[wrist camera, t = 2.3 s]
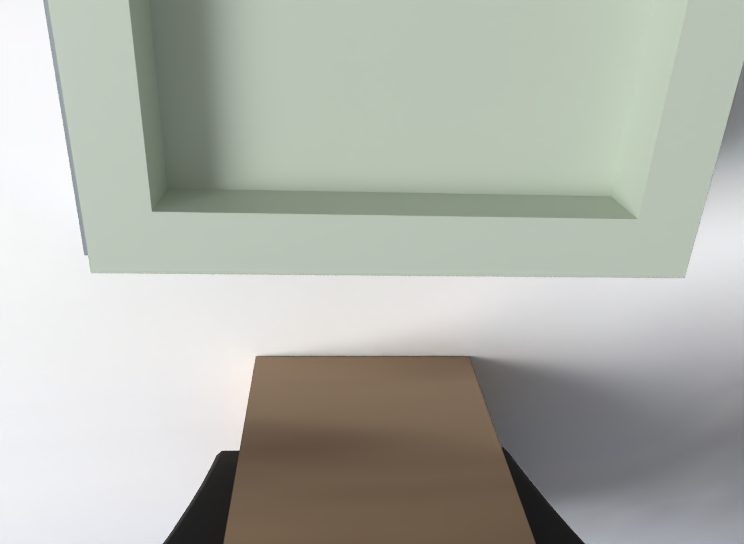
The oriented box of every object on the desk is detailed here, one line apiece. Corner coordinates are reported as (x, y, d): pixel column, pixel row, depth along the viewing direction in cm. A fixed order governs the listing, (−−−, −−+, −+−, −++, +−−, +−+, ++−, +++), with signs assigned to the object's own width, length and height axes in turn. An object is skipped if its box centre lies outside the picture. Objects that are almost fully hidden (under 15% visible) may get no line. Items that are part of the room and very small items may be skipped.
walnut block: (449, 512, 16) (498, 731, 11) (262, 516, 16) (236, 743, 11) (468, 356, 14) (536, 545, 10) (255, 356, 14) (222, 552, 9)
